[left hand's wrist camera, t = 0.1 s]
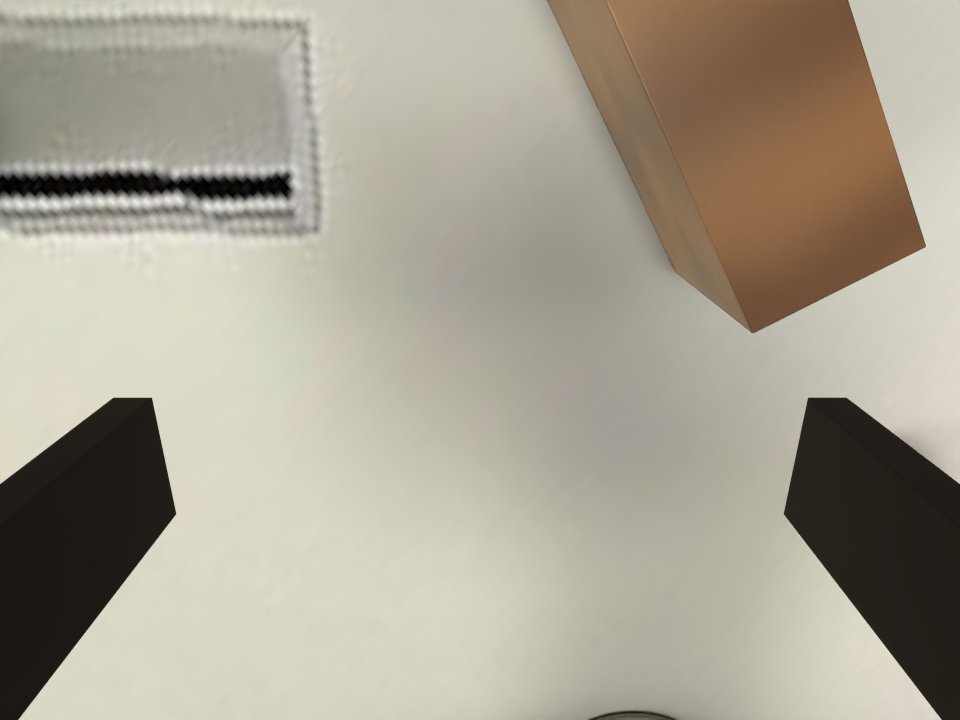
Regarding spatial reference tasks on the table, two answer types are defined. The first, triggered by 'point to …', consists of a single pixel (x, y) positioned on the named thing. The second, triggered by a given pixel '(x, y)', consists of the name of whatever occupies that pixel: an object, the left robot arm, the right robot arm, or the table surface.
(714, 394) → the table surface
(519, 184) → the table surface
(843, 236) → the box
